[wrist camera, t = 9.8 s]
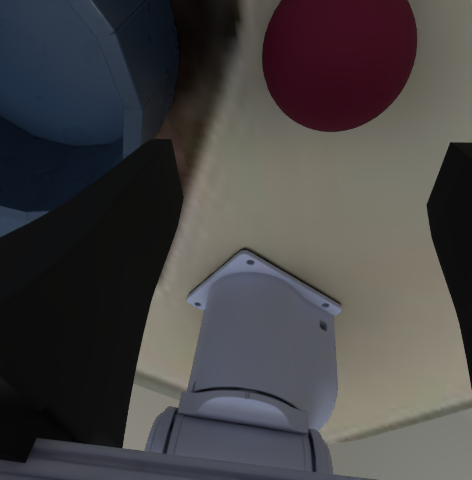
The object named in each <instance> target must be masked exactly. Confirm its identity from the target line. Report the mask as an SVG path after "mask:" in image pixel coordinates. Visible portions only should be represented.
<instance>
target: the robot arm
mask: <svg viewBox="0 0 472 480" xmlns="http://www.w3.org/2000/svg"><path fill="white" fill-rule="evenodd" d="M183 198H184V197H183V192H182V188H181V183H180V178H179V173H178V168H177V164H176V159H175V154H174V149H173V144H172V140H171V139H150V140H148V141H147V142H145V143H144V144H142V145H141V146H140V147H139V148H137V149H136V150H135V151H133V152H132V153H131V154H130V155H128V156H127V157H126V158H125V159H123V160H122V161H121V162H120V163H118V164H117V165H116V166H114V167H113V168H112V169H111V170H109V171H108V172H107V173H105V174H104V175H103V176H102V177H100V178H99V179H97V180H96V181H95V182H93V183H92V184H90V185H89V186H88V187H86V188H85V189H83V190H82V191H81V192H79V193H78V194H76V195H75V196H74V197H72V198H71V199H69V200H67V201H66V202H64V203H63V204H61V205H60V206H58V207H56V208H55V209H53V210H51V211H49V212H48V213H46V214H44V215H43V216H41V217H39V218H37V219H35V220H34V221H32V222H30V223H28V224H26V225H24V226H22V227H20V228H18V229H16V230H14V231H12V232H10V233H8V234H6V235H4V236H1V237H0V480H375V479H367V478H359V477H350V476H341V475H334V474H333V467H332V460H331V455H330V451H329V448H328V446H327V444H326V443H325V441H324V440H323V439H322V436H321V435H320V433H319V432H318V431H319V430H320V429H321V428H322V427H323V426H324V425H325V424H326V422H327V421H328V419H329V418H330V416H331V413H332V411H333V408H334V405H335V402H336V397H337V390H338V380H337V363H336V346H335V329H334V316H335V315H337V314H339V313H341V311H342V307H341V305H340V304H338V303H336V302H335V301H333V300H331V299H330V298H328V297H326V296H325V295H323V294H321V293H319V292H318V291H316V290H314V289H313V288H311V287H309V286H307V285H306V284H304V283H302V282H301V281H299V280H297V279H296V278H294V277H292V276H290V275H289V274H287V273H285V272H284V271H282V270H280V269H278V268H277V267H275V266H273V265H272V264H270V263H268V262H266V261H265V260H263V259H261V258H260V257H258V256H256V255H255V254H253V253H251V252H249V251H247V250H243V251H240V252H239V253H237V254H236V255H235V256H234V257H233V258H231V259H230V260H229V261H228V262H227V263H226V264H224V265H223V266H222V267H221V268H220V269H219V270H217V271H216V272H215V273H214V274H213V275H211V276H210V277H209V278H208V279H207V280H206V281H204V282H203V283H202V284H201V285H200V286H198V287H197V288H196V289H195V290H194V291H193V292H191V293H190V294H189V295H188V296H187V299H186V301H187V302H188V303H189V304H190V305H193V306H195V307H197V308H199V309H201V310H203V311H204V314H203V319H202V324H201V328H200V333H199V337H198V342H197V347H196V351H195V356H194V361H193V365H192V370H191V375H190V379H189V384H188V388H187V392H182V394H181V399H180V404H179V408H176V407H172V406H169V407H167V408H166V409H165V411H164V412H162V413H161V414H160V415H158V417H157V418H156V419H155V421H154V423H153V426H152V428H151V431H150V434H149V437H148V440H147V443H146V447H145V451H139V450H131V449H123V448H122V447H123V440H124V434H125V427H126V421H127V415H128V409H129V403H130V397H131V392H132V386H133V381H134V376H135V371H136V366H137V361H138V356H139V351H140V347H141V342H142V338H143V333H144V329H145V325H146V320H147V316H148V312H149V308H150V304H151V301H152V297H153V294H154V291H155V288H156V285H157V282H158V280H159V277H160V274H161V271H162V269H163V266H164V263H165V261H166V258H167V255H168V252H169V250H170V247H171V244H172V241H173V238H174V236H175V233H176V230H177V227H178V222H179V218H180V213H181V208H182V203H183ZM427 211H428V218H429V225H430V231H431V236H432V240H433V243H434V246H435V250H436V253H437V256H438V259H439V262H440V265H441V268H442V271H443V274H444V277H445V280H446V283H447V286H448V289H449V292H450V295H451V298H452V301H453V304H454V307H455V310H456V313H457V317H458V321H459V324H460V329H461V334H462V339H463V344H464V349H465V354H466V359H467V364H468V370H469V376H470V382H471V388H472V143H454V142H450V145H449V147H448V150H447V153H446V155H445V158H444V161H443V163H442V166H441V168H440V171H439V174H438V176H437V179H436V182H435V184H434V187H433V190H432V192H431V195H430V197H429V200H428V203H427ZM250 260H253V261H250Z"/></svg>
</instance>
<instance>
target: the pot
mask: <svg viewBox="0 0 472 480" xmlns="http://www.w3.org/2000/svg"><path fill="white" fill-rule="evenodd" d="M178 69H179V46H178V35H177V30H176V25H175V19H174V15H173V12H172V8H171V5H170V2H169V0H0V216H4V217H8V218H12V219H16V220H20V221H24V222H28V223H30V222H32V221H34V220H35V219H37V218H39V217H41V216H43V215H44V214H46V213H48V212H49V211H51V210H53V209H55V208H56V207H58V206H60V205H61V204H63V203H64V202H66V201H67V200H69V199H71V198H72V197H74V196H75V195H76V194H78V193H79V192H81V191H82V190H83V189H85V188H86V187H88V186H89V185H90V184H92V183H93V182H95V181H96V180H97V179H99V178H100V177H102V176H103V175H104V174H105V173H107V172H108V171H109V170H111V169H112V168H113V167H114V166H116V165H117V164H118V163H120V162H121V161H122V160H123V159H125V158H126V157H127V156H128V155H130V154H131V153H132V152H133V151H135V150H136V149H137V148H139V147H140V146H141V145H142V144H144V143H145V142H147V141H148V140H150V139H155V137H156V135H157V133H158V131H159V129H160V127H161V125H162V123H163V121H164V119H165V117H166V115H167V113H168V111H169V109H170V107H171V105H172V103H173V100H174V92H175V88H176V83H177V77H178Z"/></svg>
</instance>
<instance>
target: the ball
mask: <svg viewBox="0 0 472 480" xmlns="http://www.w3.org/2000/svg"><path fill="white" fill-rule="evenodd" d="M416 49H417V28H416V23H415V18H414V15H413V12H412V9H411V7H410V4H409V2H408V0H282V1H281V2H280V3H279V5H278V7H277V8H276V10H275V11H274V13H273V16H272V18H271V20H270V22H269V24H268V27H267V30H266V33H265V38H264V43H263V52H262V64H263V72H264V78H265V81H266V84H267V87H268V90H269V92H270V94H271V96H272V98H273V99H274V101H275V102H276V104H277V105H278V106H279V108H280V109H281V110H282V111H283V112H284V113H285V114H286V115H287V116H288V117H289V118H291V119H292V120H294V121H295V122H297V123H299V124H301V125H303V126H305V127H307V128H310V129H313V130H318V131H325V132H338V131H345V130H349V129H353V128H356V127H359V126H361V125H363V124H365V123H367V122H369V121H371V120H372V119H374V118H376V117H377V116H378V115H380V114H381V113H382V112H383V111H385V110H386V109H387V108H388V107H389V106H390V105H391V104H392V103H393V101H394V100H395V99H396V98H397V97H398V95H399V94H400V92H401V91H402V89H403V88H404V86H405V84H406V82H407V80H408V78H409V76H410V73H411V70H412V68H413V65H414V61H415V56H416Z"/></svg>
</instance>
